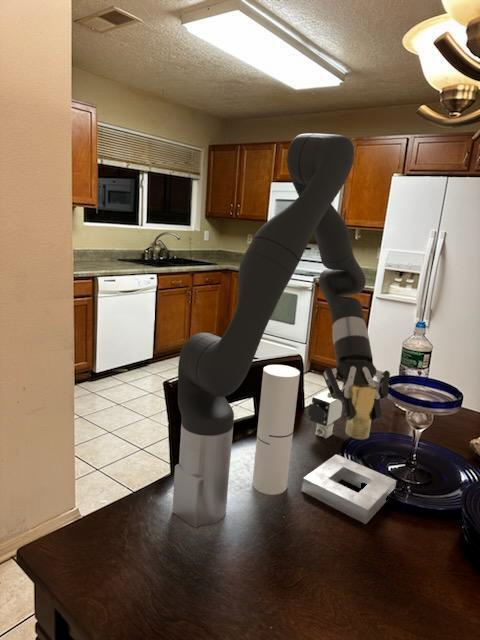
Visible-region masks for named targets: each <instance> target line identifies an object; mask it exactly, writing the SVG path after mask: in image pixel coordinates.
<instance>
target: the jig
mask: <svg viewBox="0 0 480 640" xmlns="http://www.w3.org/2000/svg"><path fill="white" fill-rule="evenodd" d="M341 480H342V481H345V482H347V483H349V484H351V485H353V486H355V487H357V488H359V489H361V483H365V484H367V485H366V486H365V487H364V488H363V489H361V490H359V492H357V491H355V490H353V489H351V488H348V487H347V486H346V485H345V486H344V485H343V484H341V483H339V482H340V481H341ZM396 485H397V479H394V478H392V477H390V476H387V475H385V474H383V473H380V472H378V471H376V470H373V469H371V468H369V467H367V466H365V465H362V464H360V463H357V462H356V461H353V460H351V459H349V458H346V457H344V456H342V455H340V454H334V455H333V456H332V457H330V458H329V459H327V460H326V461H324V462H323V463H322V464H320V465H319V466H318V467H316V468H315V469H313V470H312V471H311V472H310V473H307V475H305V476H304V477H303V478H302V486H301V492H303V493H305V494H306V495H309V496H311V497H312V498H314V499H317V500H318V501H319V502H322V503H324V504H326V505H328V506H329V507H331V508H333V509H335V510H337V511H340V512H341V513H343V514H346V515H347V516H349V517H351V518H352V519H355V520H356V521H359V522H360V523H363V524H364V525H367V524H368V522H369V521H371V519H372V518H373V516H375V515H376V513H377V512H379V510H380V509H381V508H382V507H383V506H384V505H385V504H386V503H387V501H386V498H387V496H388V495H389V494H390V493H391V492H392V491H393V490H394V489H395V490H396Z"/></svg>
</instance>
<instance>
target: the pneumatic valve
mask: <svg viewBox="0 0 480 640" xmlns="http://www.w3.org/2000/svg"><path fill="white" fill-rule="evenodd" d="M307 414H308V415H307V416H308V417H309V421H311V422H313V423H316V429H315V433H314V434H315V435H316V436H319V437H323V438H324V439H327V438H329V437H331V436H332V435H333V433H334V432H333V428H334V426H335V424H334V422H335V421H337V420H338V419H340V418H341V417H343V409H342V402H341V401H340V400H339V399H333V398H332V397H331V394H330V392H329V389H328V390H325V391H323V392H320V391H319V392H318V393H316V394H315V396H314V397H312V398H311V403H309V405H308V412H307Z"/></svg>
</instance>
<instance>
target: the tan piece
mask: <svg viewBox="0 0 480 640" xmlns="http://www.w3.org/2000/svg"><path fill="white" fill-rule="evenodd" d="M376 390H377V387H376V388H375V387H374V386H372V385H369V384H365V383H354V384H352V388H351V394H350V397H349V398H350V399H351V401H352V407H353V414H354V417H353V418H352V419H351V420H347V419H346V424H345V432H344V433H345V434H346V436H348V437H350V438H352V439H355V440H367V439H369V437H370V431H371V426H372V425H371V423H372V412H373V406H374V399H375V393H376Z"/></svg>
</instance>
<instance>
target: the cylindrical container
mask: <svg viewBox="0 0 480 640" xmlns="http://www.w3.org/2000/svg"><path fill="white" fill-rule="evenodd" d="M262 372H263V373H262V381H261V392H260V401H259V409H258V422H257V432H256V442H255V453H254V463H253V473H252V486H253V488H255V490H256V491H258V492H260V493H261V494H265V495H269V496H270V495H272V496H275V495H280V494H282V493H284V492H285V491H286V490H287V487H288V480H289V479H288V478H289V471H290V470H289V469H290V461H291V452H292V443H293V436H294V435H293V434H294V425H295V417H296V411H297V410H296V409H297V401H298V400H297V399H298V392H299V385H300V383H299V382H300V376H301V375H300V374H301V371H300V370H299V369H297V368H296V367H292V366H289V365H284V364H268V365H266V366H264V367H263V370H262Z"/></svg>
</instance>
